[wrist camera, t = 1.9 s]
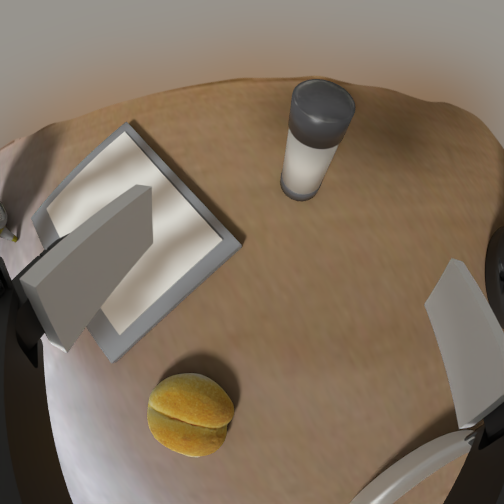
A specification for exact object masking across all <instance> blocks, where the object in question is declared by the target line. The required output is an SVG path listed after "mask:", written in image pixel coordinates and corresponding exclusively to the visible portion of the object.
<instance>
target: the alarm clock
mask: <svg viewBox="0 0 504 504" xmlns="http://www.w3.org/2000/svg"><path fill="white" fill-rule="evenodd" d="M6 223H7V213H6V210H5V208H4V206H3V204H2V203H1V201H0V237H2V238H5V239H8V240H11V241H14V242H16V241H17V239H18V238H17V237H16V236H15V235H14V234H12V233H11V232H10V231H9V230H8V229H7V228H6V227H5V226H6Z"/></svg>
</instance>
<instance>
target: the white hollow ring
mask: <svg viewBox="0 0 504 504" xmlns="http://www.w3.org/2000/svg"><path fill="white" fill-rule="evenodd" d="M472 432H473V430H460V431H455V432H452V433H448V434H445V435H443V436H440V437H438V438H436V439H434V440H432V441H430V442H428V443H426V444H424V445H422V446H420V447H419V448H417V449H415V450H414V451H412V452H411V453H409V454H407V455H406V456H404V457H403V458H401V459H400V460H399V461H397V462H396V463H394V464H393V465H392V466H390V467H389V468H388V469H386V470H385V471H384V472H382V473H381V474H380V475H379V476H377V477H376V478H375V479H374V480H373V481H371V482H370V483H369V484H368V485H367V486H366V487H365V488H364V489H363V490H362V491H361V492H360V493H359V494H358V495H356V496H355V497H354V499H353V500H352V501H351V502H350V503H349V504H393V503H394V502H395V501H396V500H398V499H399V498H400V497H401V496H403V495H404V494H405V493H407V492H408V491H409V490H410V489H412V488H413V487H414V486H416V485H417V484H418V483H420V482H421V481H423V480H424V479H425V478H427V477H428V476H430V475H431V474H433V473H434V472H436V471H437V470H438V469H440V468H442V467H443V466H445V465H446V464H448V463H449V462H451V461H453V460H455V459H456V458H458V457H460V456H462V455H464V454H466V453H468V452H469V451H470V449H471V445H470V444H468V442H469V441H470V440H472V439H474V438H475V437H471V438H470V439H468V440H467V441H465V440H464V439H465V438H466V436H467V435H469V434H470V433H472Z"/></svg>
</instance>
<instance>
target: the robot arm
mask: <svg viewBox="0 0 504 504" xmlns="http://www.w3.org/2000/svg"><path fill="white" fill-rule="evenodd" d="M152 244H153V221H152V187H151V186H145V185H138V184H136V185H135V186H133V187H132V188H130V189H129V190H127V191H126V192H124V193H123V194H121V195H120V196H119V197H117V198H116V199H114V200H113V201H111V202H110V203H109V204H107V205H106V206H105V207H103V208H102V209H101V210H99V211H98V212H97V213H95V214H94V215H93V216H91V217H90V218H89V219H87V220H86V221H85V222H84V223H82V224H81V225H80V226H78V227H77V228H76V229H75V230H73V231H72V232H71V233H69V234H67V235H65V236H63V237H61V238H59V239H57V240H56V241H55V242H53V243H52V244H51V245H50V246H49V247H47V250H46V249H45V250H44V251H43V252H42V253H41V254H40V256H37V257H36V258H35V259H34V260H33V261H32V262H31V263H30V264H28V265H27V266H26V267H25V268H24V269H23V270H22V271H21V272H20V273H19V274H18V275H17V276H16V277H15V278H14V279H13V280H12V281H11V278H10V276H9V273H8V271H7V268H6V266H5V263H4V261H3V259H2V257H0V504H73V503H72V500H71V497H70V495H69V492H68V489H67V486H66V483H65V480H64V476H63V473H62V470H61V466H60V463H59V459H58V455H57V451H56V447H55V442H54V438H53V433H52V428H51V422H50V416H49V410H48V403H47V395H46V386H45V375H44V360H43V344H42V340H41V339H40V338H41V337H42V335H43V334H44V333H45V334H46V336H47V337H48V339H49V341H50V343H51V344H52V345H54V346H55V347H57V348H59V349H61V350H62V351H64V352H66V353H68V351H69V350H70V349H71V347H72V346H73V344H74V343H75V341H76V340H77V339H78V337H79V336H80V334H81V333H82V332H83V330H84V329H85V327H86V326H87V325H88V323H89V322H90V321H91V319H92V318H93V317H94V315H95V314H96V313H97V311H98V310H99V309H100V307H101V306H102V305H103V304H104V302H105V301H106V300H107V298H108V297H109V296H110V295H111V293H112V292H113V291H114V289H115V288H116V287H117V286H118V285H119V283H120V282H121V281H122V280H123V278H124V277H125V276H126V275H127V273H128V272H129V271H130V270H131V269H132V267H133V266H134V265H135V264H136V263H137V261H138V260H139V259H140V258H141V257H142V256H143V254H144V253H145V252H146V251H147V250H148V249H149V247H150V246H151V245H152ZM485 273H486V288H487V295H488V300H489V304H490V305H489V304H488V302H487V300H486V298H485V297H484V295H483V293H482V291H481V290H480V288H479V286H478V285H477V283H476V281H475V280H474V278H473V277H472V275H471V274H470V272H469V270H468V269H467V267H466V266H465V264H464V263H463V262H462V261H459V260H456V259H453V258H451V260H450V262H449V263H448V265H447V267H446V269H445V271H444V272H443V274H442V276H441V278H440V279H439V281H438V283H437V285H436V286H435V288H434V290H433V291H432V293H431V294H430V296H429V298H428V299H427V301H426V302H425V304H424V305H425V308H426V310H427V313H428V316H429V319H430V321H431V324H432V327H433V330H434V333H435V336H436V339H437V342H438V345H439V348H440V352H441V355H442V358H443V362H444V365H445V369H446V372H447V376H448V380H449V384H450V388H451V392H452V396H453V401H454V406H455V410H456V415H457V421H458V426H459V429H462V428H468V427H472V426H474V425H475V424H476V423H478V422H479V421H481V420H482V419H483V418H484V423H485V424H483V425H482V426H481V427H479V428H478V429H476V430H475V431H473V432H472V433H470V434H469V435H467V436H466V438H465V439H464V440H465V441H467V440H468V439H470V438H471V437H475V438H474V439H472V440H470V441H469V442H468V444H470V445H471V449H470V451H469V454H468V456H467V458H466V461H465V463H464V465H463V467H462V469H461V471H460V473H459V475H458V477H457V479H456V481H455V483H454V485H453V487H452V489H451V491H450V493H449V494H448V496H447V498H446V500H445V501H444V503H443V504H504V333H503V331H502V328H503V329H504V226H503V227H501V228H499V229H498V230H497V231H496V232H495V233H494V235H493V236H492V239H491V241H490V244H489V247H488V251H487V257H486V272H485ZM501 327H502V328H501Z"/></svg>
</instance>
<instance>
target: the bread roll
mask: <svg viewBox="0 0 504 504" xmlns="http://www.w3.org/2000/svg"><path fill="white" fill-rule="evenodd" d="M233 415H234V406H233V403H232V401H231V399H230V398H229V396H228V395H227V394H226V392H225V391H224V390H223V389H222V388H221V387H220V386H219V385H218V384H217V383H216V382H214V381H213V380H211V379H210V378H208V377H206V376H204V375H201V374H196V373H184V374H178V375H173V376H170V377H168V378H166V379H165V380H163V381H162V382H160V383H159V384H158V385H157V386H156V387H155V388H154V389H153V391H152V392H151V395H150V398H149V404H148V410H147V420H148V424H149V428H150V430H151V432H152V434H153V435H154V437H155V438H156V439H157V440H158V441H159V442H160V443H161V444H163V445H164V446H166V447H167V448H169V449H171V450H172V451H176V452H178V453H180V454H183V455H186V456H189V457H199V456H205V455H209V454H212V453H214V452H215V451H217V450H218V449H219V448H220V447H221V445H222V444H223V442H224V441H225V438H226V433H227V424H228V423H229V422H230V421H231V419H232V418H233Z"/></svg>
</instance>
